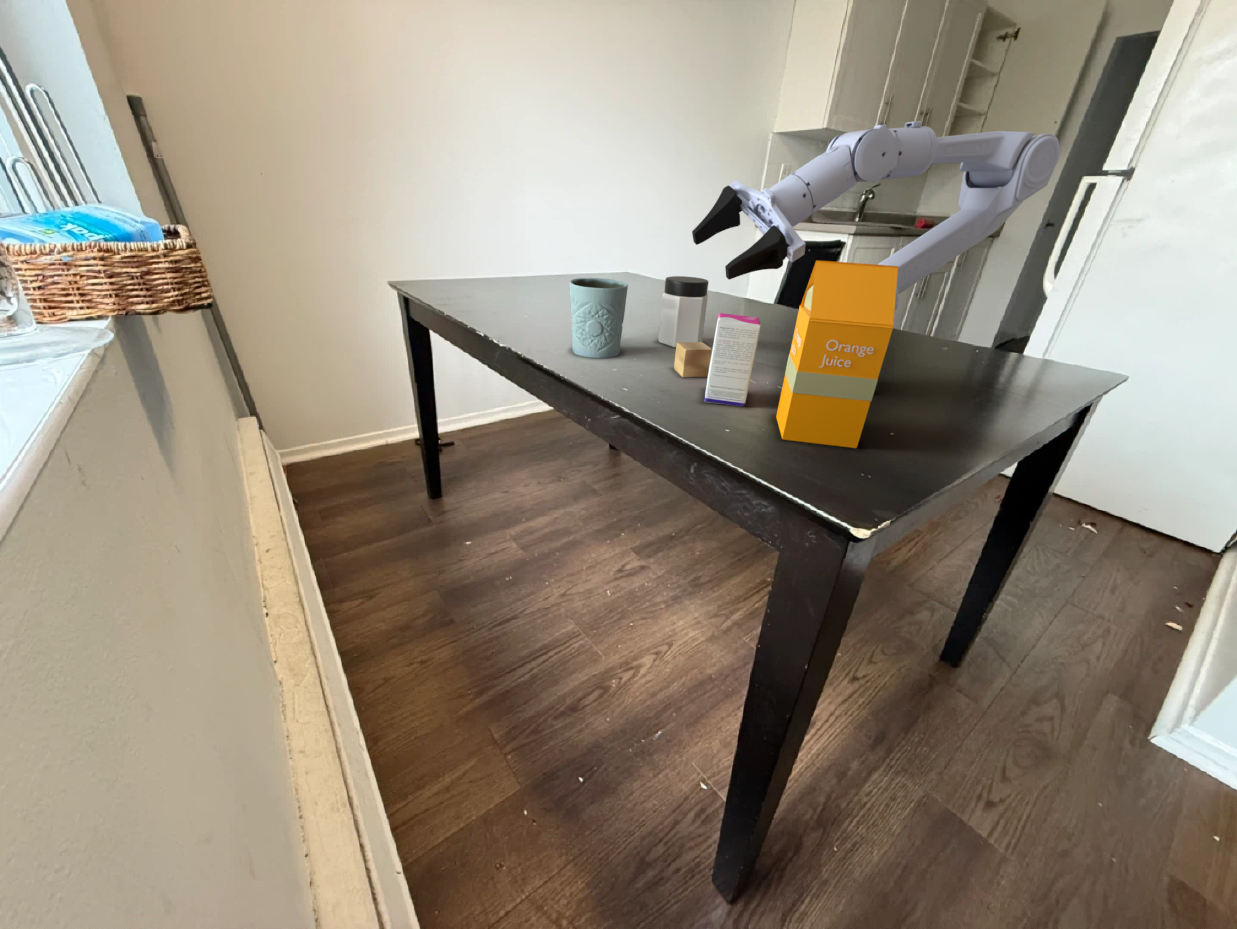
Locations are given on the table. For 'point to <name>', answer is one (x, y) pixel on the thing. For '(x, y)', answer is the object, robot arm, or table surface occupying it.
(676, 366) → the maple block
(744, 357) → the supplement box
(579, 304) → the drinking glass
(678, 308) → the jar
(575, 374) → the table surface
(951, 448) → the table surface
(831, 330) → the orange juice
